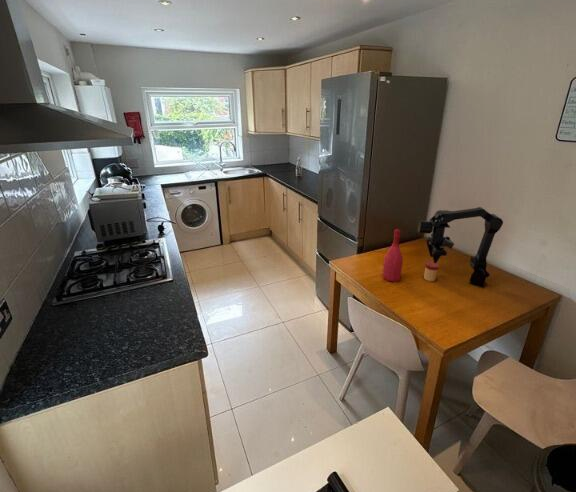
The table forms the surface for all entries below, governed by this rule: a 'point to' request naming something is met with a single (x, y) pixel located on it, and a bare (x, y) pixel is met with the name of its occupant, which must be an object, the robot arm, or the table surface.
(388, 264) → the wine bottle
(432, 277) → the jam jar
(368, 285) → the table surface
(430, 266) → the lid
